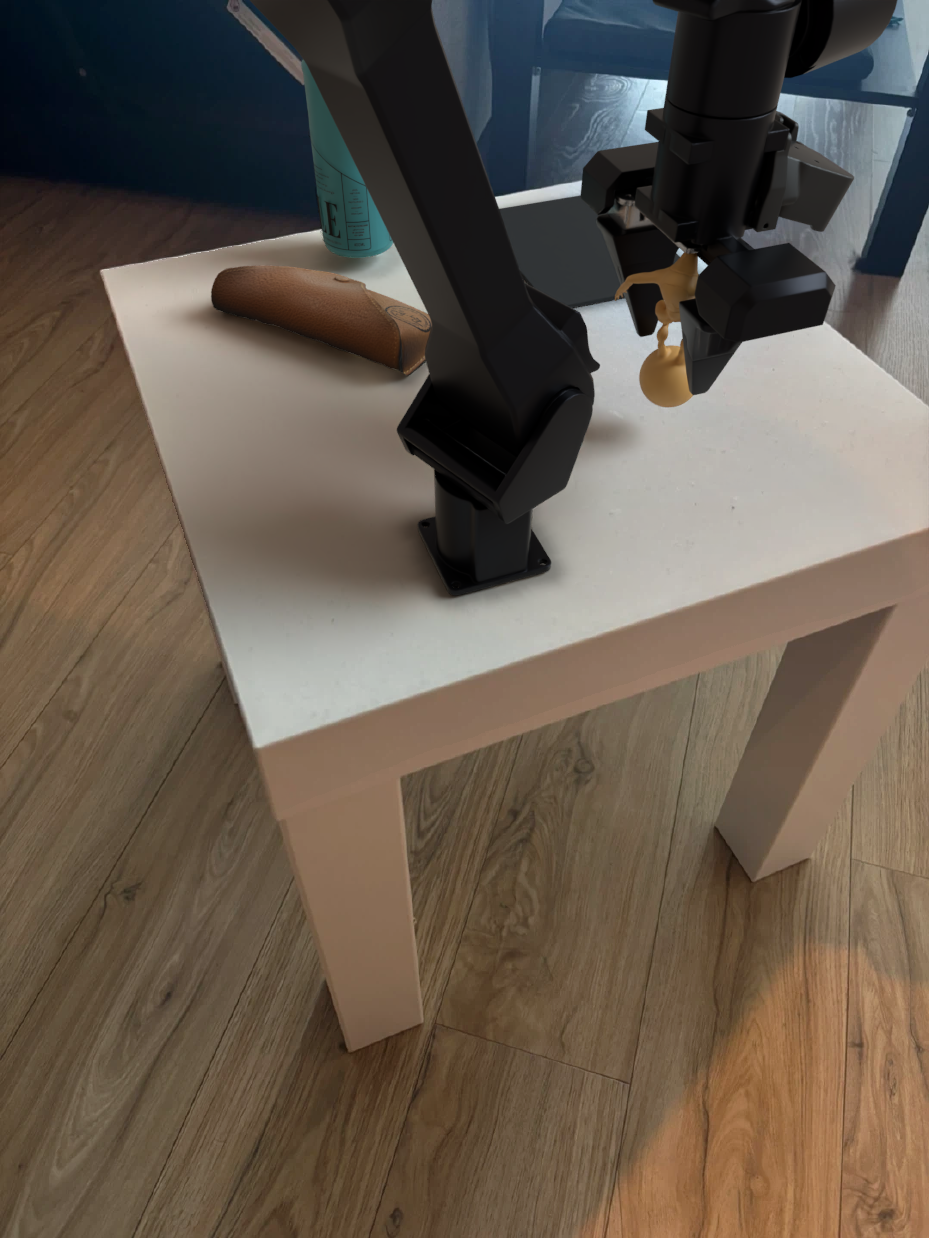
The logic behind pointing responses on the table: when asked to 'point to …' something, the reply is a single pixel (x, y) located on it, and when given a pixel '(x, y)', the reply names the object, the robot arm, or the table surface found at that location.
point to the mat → (562, 251)
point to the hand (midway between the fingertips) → (671, 363)
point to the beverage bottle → (341, 186)
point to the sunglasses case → (327, 312)
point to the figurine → (667, 363)
